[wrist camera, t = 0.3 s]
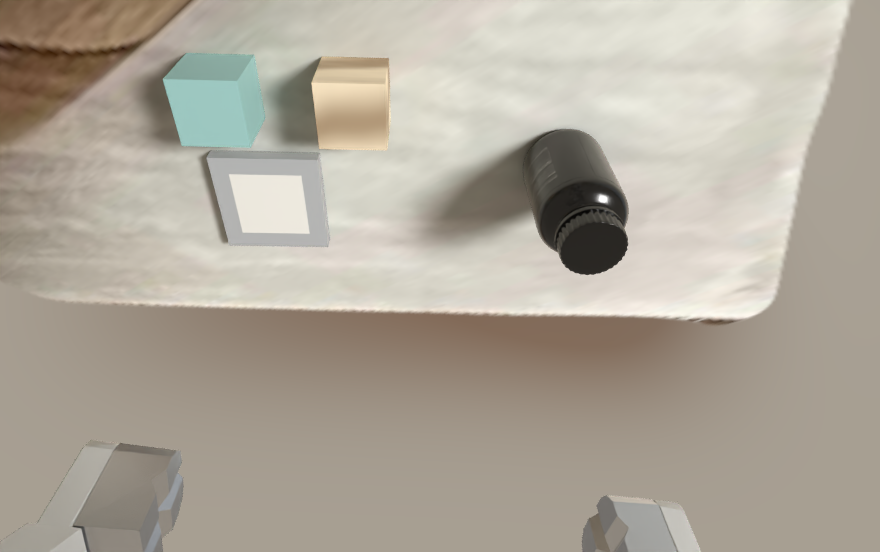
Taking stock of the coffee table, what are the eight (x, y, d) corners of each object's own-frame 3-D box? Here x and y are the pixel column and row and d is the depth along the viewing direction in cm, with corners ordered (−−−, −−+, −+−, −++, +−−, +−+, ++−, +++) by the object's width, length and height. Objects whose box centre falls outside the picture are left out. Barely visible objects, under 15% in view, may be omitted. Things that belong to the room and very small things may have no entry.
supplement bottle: (540, 208, 52) (563, 299, 43) (509, 149, 48) (527, 234, 39) (613, 176, 50) (654, 264, 41) (587, 111, 46) (626, 192, 37)
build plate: (210, 150, 48) (206, 157, 47) (319, 152, 48) (317, 160, 47) (232, 237, 54) (229, 245, 53) (329, 239, 54) (328, 247, 53)
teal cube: (186, 52, 43) (162, 79, 39) (254, 54, 43) (237, 81, 39) (202, 116, 46) (182, 145, 42) (265, 117, 46) (250, 147, 42)
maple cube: (321, 56, 43) (311, 82, 39) (388, 57, 43) (385, 84, 39) (328, 118, 46) (319, 148, 43) (390, 120, 47) (387, 150, 43)
